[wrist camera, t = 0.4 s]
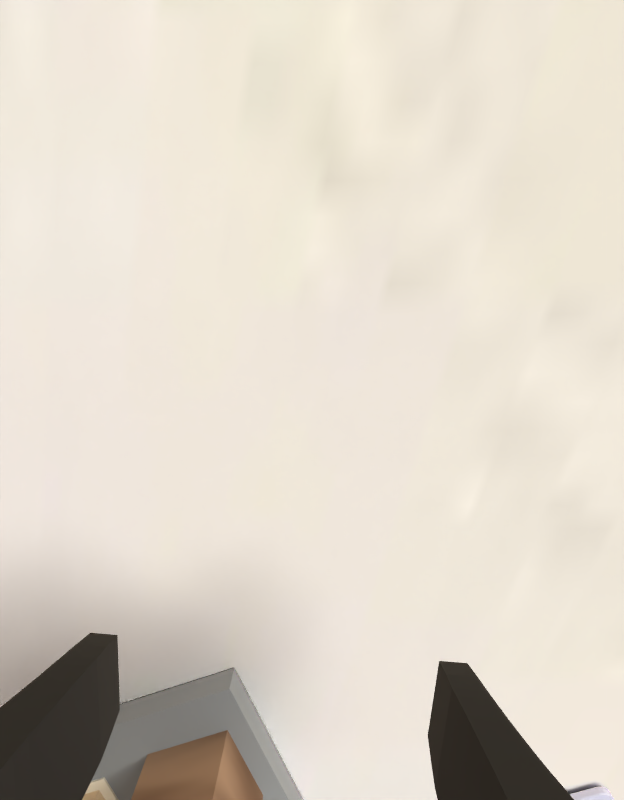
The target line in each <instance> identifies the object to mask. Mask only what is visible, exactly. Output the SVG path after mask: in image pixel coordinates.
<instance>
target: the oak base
mask: <svg viewBox="0 0 624 800" xmlns="http://www.w3.org/2000/svg"><path fill="white" fill-rule="evenodd" d="M82 800H105V798H104V797H103V795H102V794H101V792H100V791H99V790H97V791H94V792H91V793H87V794H85V795H84V797H83V799H82Z"/></svg>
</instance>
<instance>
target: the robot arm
mask: <svg viewBox="0 0 624 800" xmlns="http://www.w3.org/2000/svg"><path fill="white" fill-rule="evenodd" d="M119 711H120V703H119V673H118V642H117V635H109V634H97V633H90V634H89V635H87V636H86V637H85V638H84V639H83V640H81V641H80V642H79V643H78V644H76V645H75V646H74V647H73V648H72V649H70V650H69V651H68V652H67V653H66V654H65V655H63V656H62V657H61V658H60V659H59V660H57V661H56V662H55V663H54V664H53V665H52V666H50V667H49V668H48V669H47V670H46V671H44V672H43V673H42V674H41V675H40V676H38V677H37V678H36V679H35V680H34V681H32V682H31V683H30V684H29V685H28V686H26V687H25V688H24V689H23V690H21V691H20V692H19V693H18V694H16V695H15V696H14V697H13V698H12V699H10V700H9V701H8V702H7V703H5V704H4V705H3V706H2V707H0V800H82V799H83V797H84V795H85V793H86V791H87V789H88V787H89V785H90V783H91V781H92V779H93V776H94V774H95V772H96V770H97V768H98V766H99V764H100V762H101V760H102V757H103V754H104V752H105V749H106V746H107V744H108V741H109V739H110V736H111V733H112V730H113V727H114V725H115V722H116V719H117V716H118V713H119ZM428 740H429V748H430V755H431V763H432V770H433V777H434V784H435V790H436V794H437V798H438V800H614V798H613V796H612V794H611V792H610V791H609V789H607V788H606V787H602V786H599V787H594V788H590V789H587V790H583V791H579V792H575V793H571V794H569V793H568V792H567V791H566V790H565V789H564V787H563V786H562V785H561V784H560V783H559V782H558V780H557V779H556V778H555V777H554V776H553V775H552V774H551V772H550V771H549V770H548V769H547V768H546V766H545V765H544V764H543V763H542V761H541V760H540V759H539V758H538V757H537V755H536V754H535V753H534V752H533V750H532V749H531V748H530V746H529V745H528V744H527V743H526V741H525V740H524V739H523V738H522V736H521V735H520V734H519V733H518V731H517V730H516V729H515V727H514V726H513V725H512V723H511V722H510V721H509V720H508V718H507V717H506V716H505V714H504V713H503V712H502V710H501V709H500V707H499V706H498V705H497V703H496V702H495V701H494V699H493V698H492V697H491V695H490V694H489V692H488V691H487V690H486V688H485V687H484V686H483V684H482V683H481V681H480V680H479V679H478V677H477V676H476V674H475V673H474V672H473V670H472V669H471V668H470V666H469V665H468V664H467V663H456V662H444V661H439V667H438V673H437V680H436V686H435V693H434V699H433V706H432V712H431V719H430V725H429V732H428Z"/></svg>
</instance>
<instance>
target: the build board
mask: <svg viewBox="0 0 624 800" xmlns="http://www.w3.org/2000/svg"><path fill="white" fill-rule="evenodd" d="M226 730H228V732H229V734H230V735H231V737H232V739H233V741H234V743H235V745H236V746H237V748H238V750H239V752H240V754H241V756H242V757H243V759H244V761H245V763H246V765H247V767H248V768H249V770H250V772H251V774H252V776H253V778H254V779H255V781H256V783H257V785H258V787H259V789H260V790H261V792H262V794H263V800H303V798H302V796H301V794H300V792H299V791H298V789H297V787H296V785H295V783H294V781H293V779H292V777H291V775H290V773H289V771H288V769H287V768H286V766H285V764H284V762H283V760H282V758H281V756H280V754H279V752H278V750H277V748H276V747H275V745H274V743H273V741H272V739H271V737H270V735H269V733H268V731H267V729H266V727H265V725H264V724H263V722H262V720H261V718H260V716H259V714H258V712H257V710H256V708H255V706H254V704H253V703H252V701H251V699H250V697H249V695H248V693H247V691H246V689H245V687H244V685H243V683H242V681H241V680H240V678H239V676H238V674H237V672H236V670H235V668H232V669H229V670H226V671H223V672H219V673H216V674H213V675H210V676H207V677H204V678H201V679H198V680H195V681H191V682H188V683H185V684H182V685H179V686H176V687H173V688H170V689H167V690H163V691H160V692H157V693H154V694H151V695H148V696H145V697H142V698H139V699H135V700H132V701H129V702H126V703H123V704H120V711H119V713H118V716H117V719H116V722H115V725H114V727H113V730H112V733H111V736H110V739H109V741H108V744H107V746H106V749H105V752H104V754H103V757H102V760H101V762H100V764H99V766H98V768H97V770H96V772H95V774H94V776H93V779H92V781H91V783H90V785H89V787H88V789H87V791H86V793H85V794H87V793H91V792H94V791H97V790H99V791H100V792H101V794H102V795H103V797H104V798H105V800H131V798H132V796H133V793H134V790H135V787H136V785H137V782H138V779H139V776H140V774H141V771H142V768H143V766H144V763H145V760H146V757H147V755H148V754H150V753H154V752H157V751H160V750H164V749H167V748H170V747H173V746H177V745H180V744H183V743H186V742H190V741H193V740H196V739H200V738H203V737H206V736H209V735H213V734H216V733H219V732H222V731H226Z"/></svg>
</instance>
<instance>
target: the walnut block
mask: <svg viewBox="0 0 624 800" xmlns="http://www.w3.org/2000/svg"><path fill="white" fill-rule="evenodd" d="M131 800H263V794H262V792H261V790H260V789H259V787H258V785H257V783H256V781H255V779H254V778H253V776H252V774H251V772H250V770H249V768H248V767H247V765H246V763H245V761H244V759H243V757H242V756H241V754H240V752H239V750H238V748H237V746H236V745H235V743H234V741H233V739H232V737H231V735H230V734H229V732H228V730H226V731H222V732H219V733H216V734H213V735H209V736H206V737H203V738H200V739H196V740H193V741H190V742H186V743H183V744H180V745H177V746H173V747H170V748H167V749H164V750H160V751H157V752H154V753H150V754H148V755H147V757H146V760H145V763H144V766H143V768H142V771H141V774H140V776H139V779H138V782H137V785H136V787H135V790H134V793H133V796H132V798H131Z"/></svg>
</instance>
